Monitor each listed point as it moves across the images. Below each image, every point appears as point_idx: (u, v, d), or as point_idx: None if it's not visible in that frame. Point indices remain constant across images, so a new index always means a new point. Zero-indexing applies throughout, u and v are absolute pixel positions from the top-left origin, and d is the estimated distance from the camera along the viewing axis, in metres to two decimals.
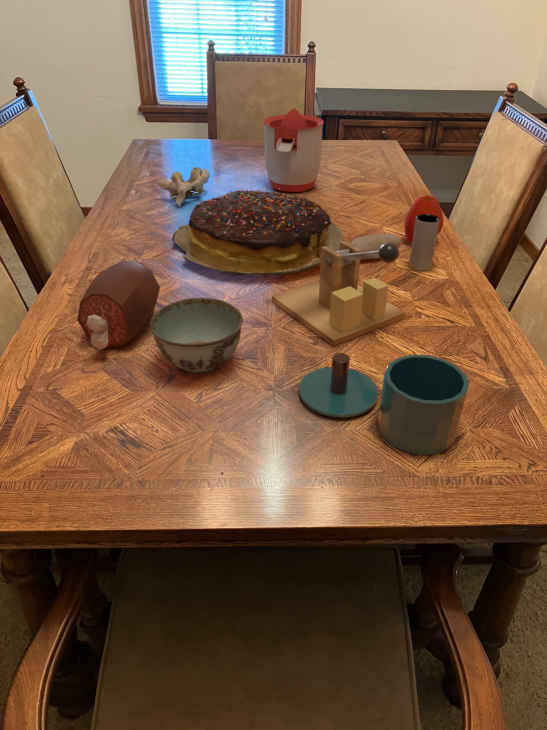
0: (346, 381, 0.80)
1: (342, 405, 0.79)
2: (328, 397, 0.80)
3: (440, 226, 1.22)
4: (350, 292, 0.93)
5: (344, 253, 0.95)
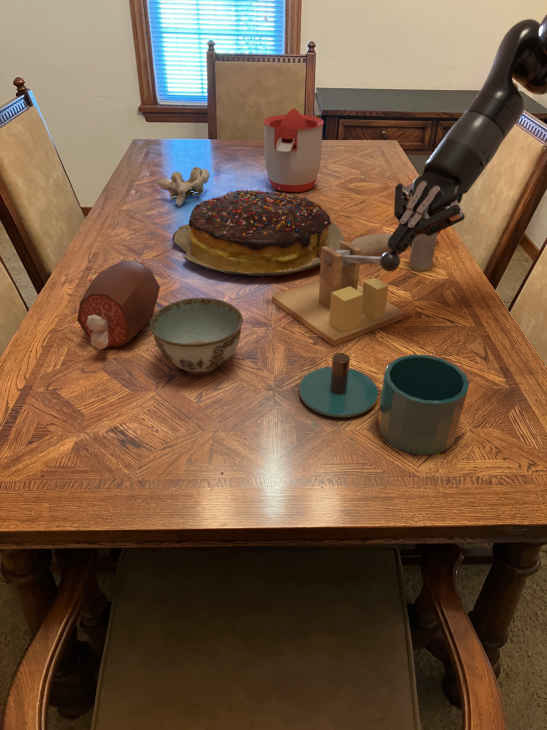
0: (346, 381, 0.80)
1: (342, 405, 0.79)
2: (328, 397, 0.80)
3: None
4: (350, 292, 0.93)
5: (344, 254, 0.95)
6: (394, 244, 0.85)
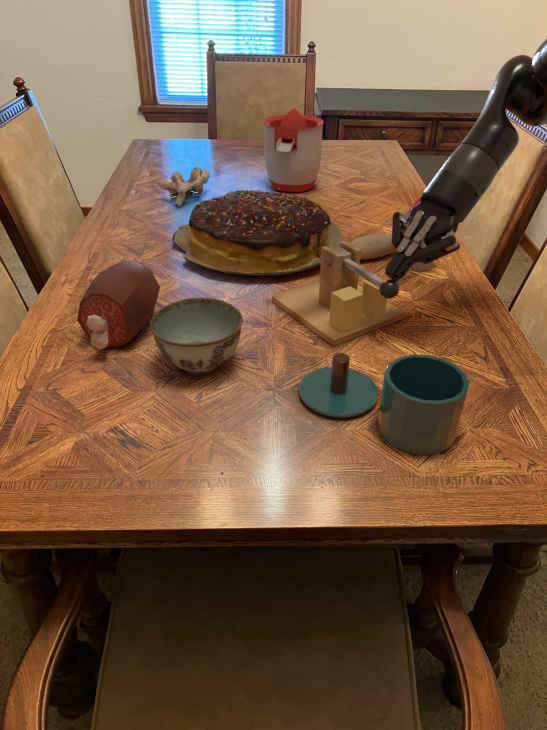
0: (346, 381, 0.80)
1: (342, 405, 0.79)
2: (328, 397, 0.80)
3: None
4: (350, 292, 0.93)
5: (346, 257, 0.95)
6: (391, 272, 0.87)
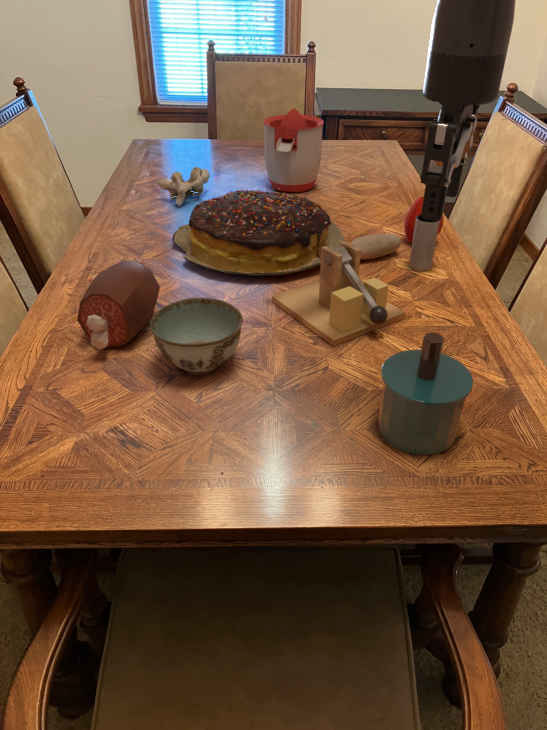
0: (438, 365, 0.70)
1: (435, 392, 0.69)
2: (417, 383, 0.70)
3: (440, 226, 1.22)
4: (350, 292, 0.93)
5: (346, 262, 0.96)
6: (458, 191, 0.68)
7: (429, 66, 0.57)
